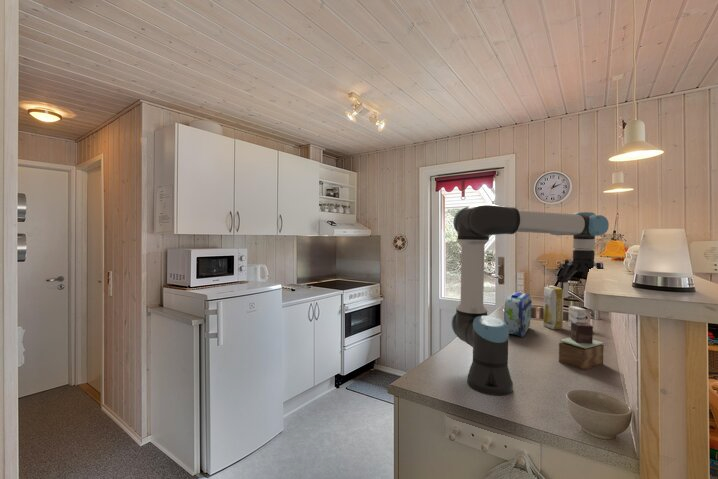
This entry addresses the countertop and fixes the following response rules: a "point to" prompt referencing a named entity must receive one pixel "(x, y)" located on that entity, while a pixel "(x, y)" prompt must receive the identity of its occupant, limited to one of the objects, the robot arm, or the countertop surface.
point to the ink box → (576, 315)
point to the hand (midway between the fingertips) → (582, 300)
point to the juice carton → (553, 307)
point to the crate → (580, 356)
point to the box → (581, 332)
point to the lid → (582, 345)
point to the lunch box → (518, 313)
